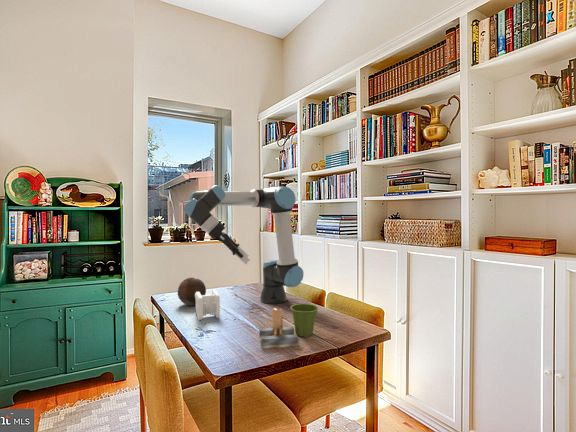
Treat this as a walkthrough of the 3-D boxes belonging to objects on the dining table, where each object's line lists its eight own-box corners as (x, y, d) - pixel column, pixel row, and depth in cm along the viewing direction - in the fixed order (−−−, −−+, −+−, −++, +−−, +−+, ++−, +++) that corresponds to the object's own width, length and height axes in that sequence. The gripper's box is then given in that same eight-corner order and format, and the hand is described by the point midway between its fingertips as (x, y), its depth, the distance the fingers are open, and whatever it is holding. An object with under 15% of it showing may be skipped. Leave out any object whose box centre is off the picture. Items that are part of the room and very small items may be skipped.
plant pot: (297, 341, 138) (297, 313, 138) (285, 331, 149) (285, 305, 149) (323, 336, 143) (323, 309, 143) (310, 327, 154) (310, 302, 154)
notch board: (261, 348, 131) (261, 339, 131) (259, 336, 143) (259, 328, 143) (297, 346, 133) (297, 337, 133) (292, 334, 145) (292, 326, 145)
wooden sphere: (210, 301, 198) (210, 275, 197) (199, 309, 183) (198, 280, 182) (185, 300, 200) (185, 274, 200) (172, 308, 185) (172, 280, 185)
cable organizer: (220, 319, 165) (220, 295, 165) (197, 322, 162) (197, 297, 162) (215, 311, 180) (215, 288, 179) (194, 313, 176) (194, 290, 176)
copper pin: (276, 335, 141) (276, 306, 140) (284, 338, 139) (284, 308, 138) (270, 339, 138) (270, 309, 137) (278, 341, 135) (278, 311, 135)
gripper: (209, 231, 168) (240, 261, 171) (205, 235, 143) (242, 270, 146) (220, 220, 169) (251, 250, 171) (217, 222, 144) (254, 257, 147)
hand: (247, 259), depth 159 cm, fingers open, 13 cm apart
